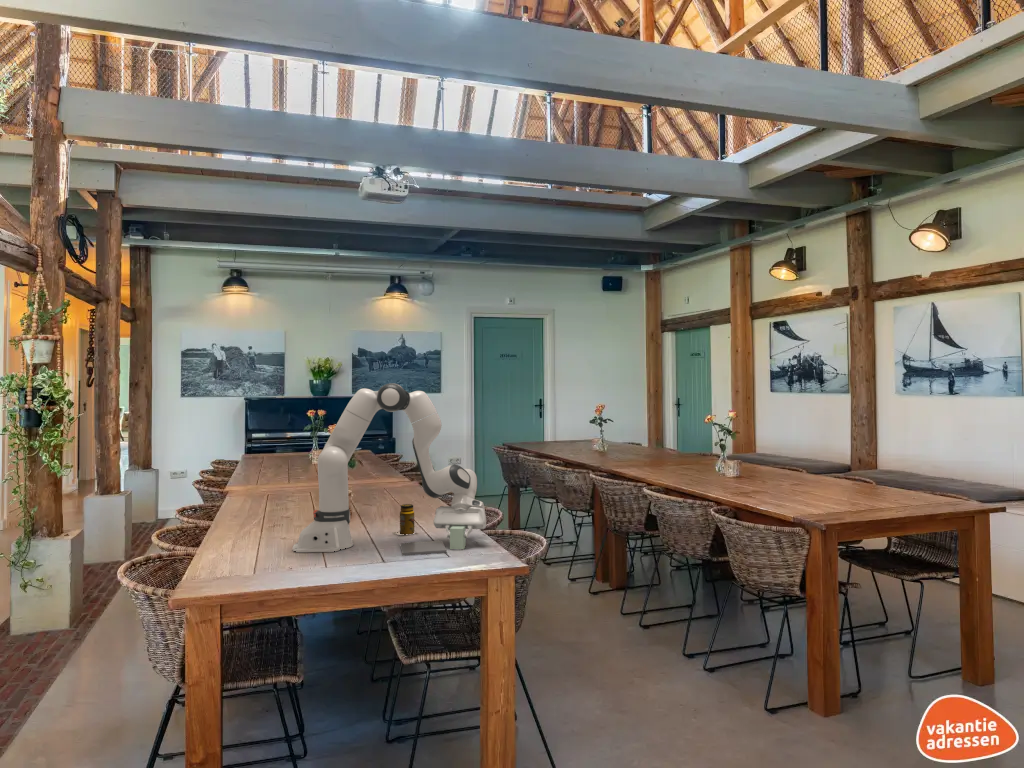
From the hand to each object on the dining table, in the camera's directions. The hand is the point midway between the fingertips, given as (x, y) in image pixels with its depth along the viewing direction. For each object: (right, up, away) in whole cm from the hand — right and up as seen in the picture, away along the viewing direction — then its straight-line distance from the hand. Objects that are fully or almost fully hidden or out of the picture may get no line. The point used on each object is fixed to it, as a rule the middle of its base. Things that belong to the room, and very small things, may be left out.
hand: (457, 537), depth 261 cm
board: (-13, -5, 0) cm, 14 cm away
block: (0, -4, +1) cm, 4 cm away
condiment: (-24, -5, +27) cm, 37 cm away
